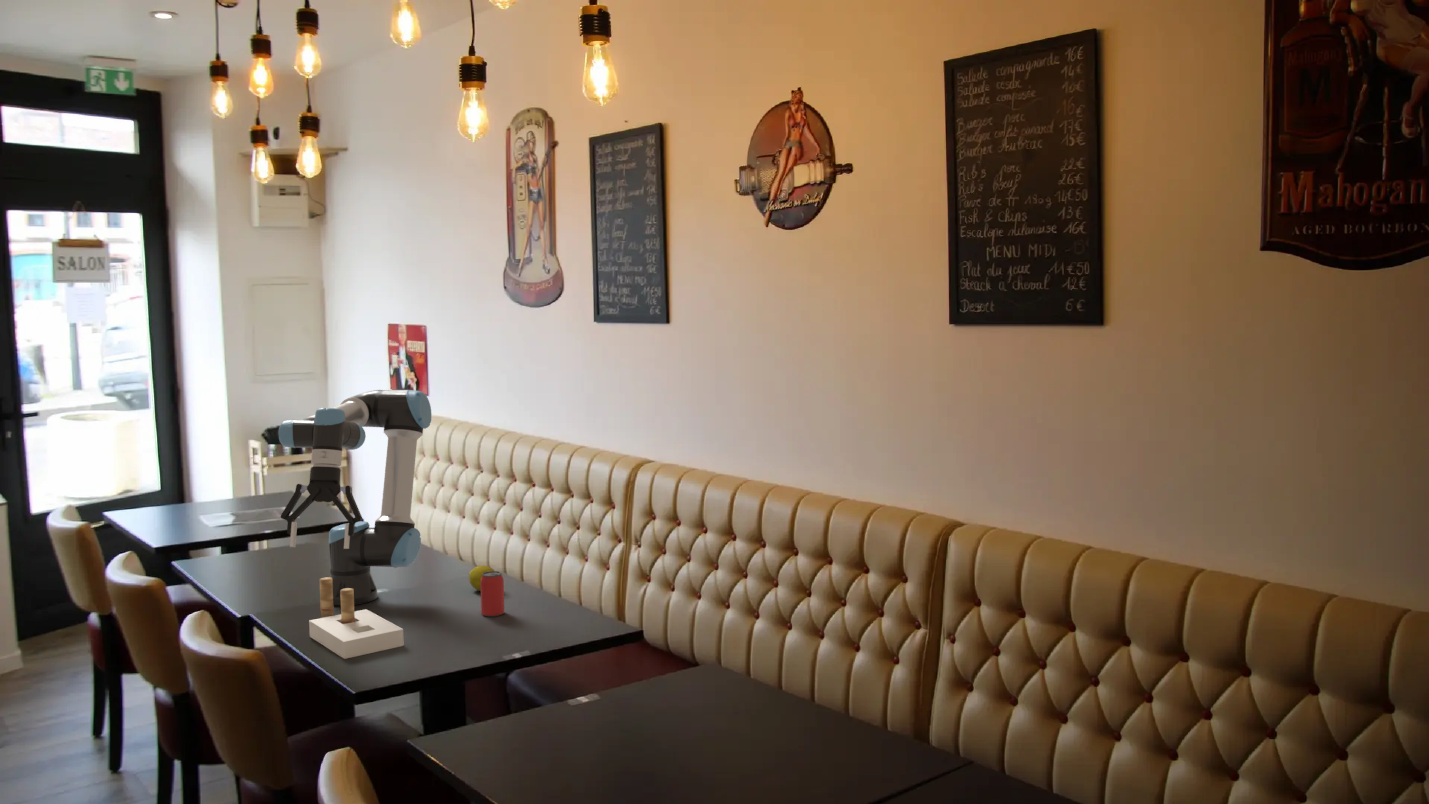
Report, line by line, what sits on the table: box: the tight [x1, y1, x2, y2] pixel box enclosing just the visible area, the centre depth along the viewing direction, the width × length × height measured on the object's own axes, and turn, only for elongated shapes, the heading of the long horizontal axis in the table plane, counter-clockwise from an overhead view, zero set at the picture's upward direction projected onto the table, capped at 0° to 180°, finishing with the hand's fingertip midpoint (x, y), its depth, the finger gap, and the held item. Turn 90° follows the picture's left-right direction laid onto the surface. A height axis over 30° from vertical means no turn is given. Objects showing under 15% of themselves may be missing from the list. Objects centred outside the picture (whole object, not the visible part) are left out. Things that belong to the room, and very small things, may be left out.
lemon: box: [468, 564, 495, 592], centre depth 342 cm, size 11×8×8 cm
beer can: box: [480, 570, 505, 618], centre depth 317 cm, size 7×7×12 cm
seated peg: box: [340, 588, 355, 624], centre depth 296 cm, size 4×4×13 cm
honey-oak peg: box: [319, 576, 335, 618], centre depth 308 cm, size 4×4×13 cm
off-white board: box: [308, 608, 405, 660], centre depth 293 cm, size 16×24×4 cm, turn 40°
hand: (319, 548), depth 286 cm, fingers open, 13 cm apart
